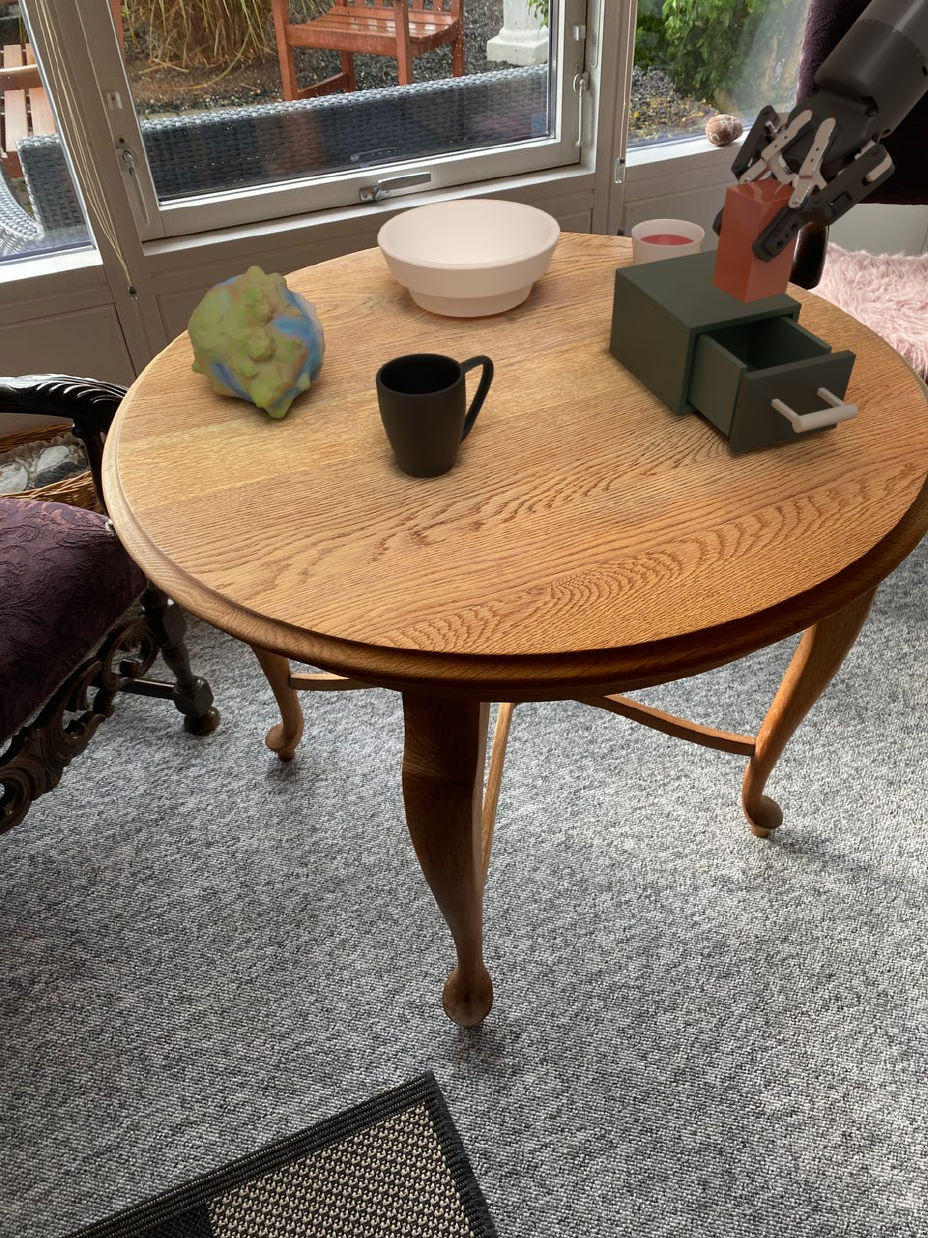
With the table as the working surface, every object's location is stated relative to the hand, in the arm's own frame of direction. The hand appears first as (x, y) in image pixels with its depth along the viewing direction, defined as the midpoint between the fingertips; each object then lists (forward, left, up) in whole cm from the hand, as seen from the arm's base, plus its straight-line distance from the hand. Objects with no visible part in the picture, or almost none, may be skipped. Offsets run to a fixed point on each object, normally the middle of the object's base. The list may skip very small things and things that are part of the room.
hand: (739, 244), depth 73 cm
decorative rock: (+47, +6, -20) cm, 51 cm away
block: (-1, -1, -4) cm, 4 cm away
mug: (+24, +9, -20) cm, 33 cm away
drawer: (-4, -7, -19) cm, 21 cm away
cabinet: (+5, -16, -20) cm, 26 cm away
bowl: (+36, -26, -20) cm, 49 cm away
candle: (+14, -38, -20) cm, 46 cm away
